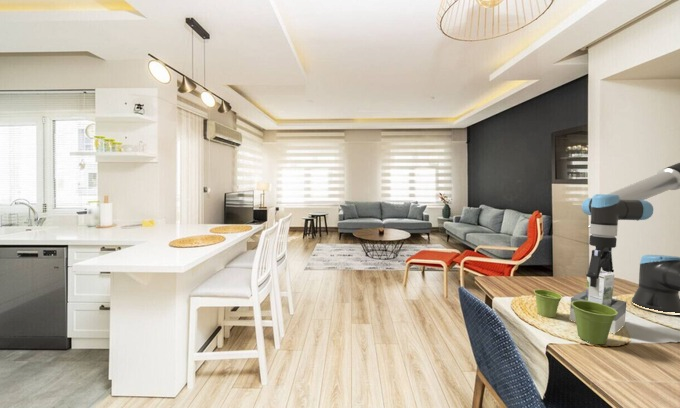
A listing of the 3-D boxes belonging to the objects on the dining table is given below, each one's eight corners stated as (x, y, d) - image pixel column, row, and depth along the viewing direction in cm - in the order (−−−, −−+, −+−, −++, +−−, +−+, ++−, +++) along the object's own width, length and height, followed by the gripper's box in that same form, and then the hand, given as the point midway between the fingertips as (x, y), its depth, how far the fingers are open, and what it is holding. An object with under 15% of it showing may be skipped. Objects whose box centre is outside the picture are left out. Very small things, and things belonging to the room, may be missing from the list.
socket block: (581, 312, 121) (582, 291, 120) (624, 325, 110) (626, 301, 109) (569, 320, 113) (571, 297, 113) (614, 334, 103) (616, 309, 102)
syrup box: (593, 305, 115) (596, 269, 114) (611, 312, 110) (614, 273, 109) (584, 307, 113) (586, 270, 112) (602, 314, 108) (605, 275, 107)
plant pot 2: (560, 330, 105) (562, 299, 104) (594, 331, 105) (596, 300, 104) (587, 349, 93) (590, 314, 93) (626, 350, 93) (628, 315, 92)
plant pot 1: (562, 314, 119) (563, 293, 118) (559, 322, 112) (560, 300, 111) (535, 307, 125) (536, 287, 124) (530, 314, 118) (531, 293, 118)
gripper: (600, 231, 120) (597, 282, 121) (578, 237, 105) (575, 295, 107) (625, 234, 113) (621, 288, 115) (605, 240, 99) (601, 301, 101)
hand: (599, 291), depth 111 cm, fingers open, 13 cm apart
